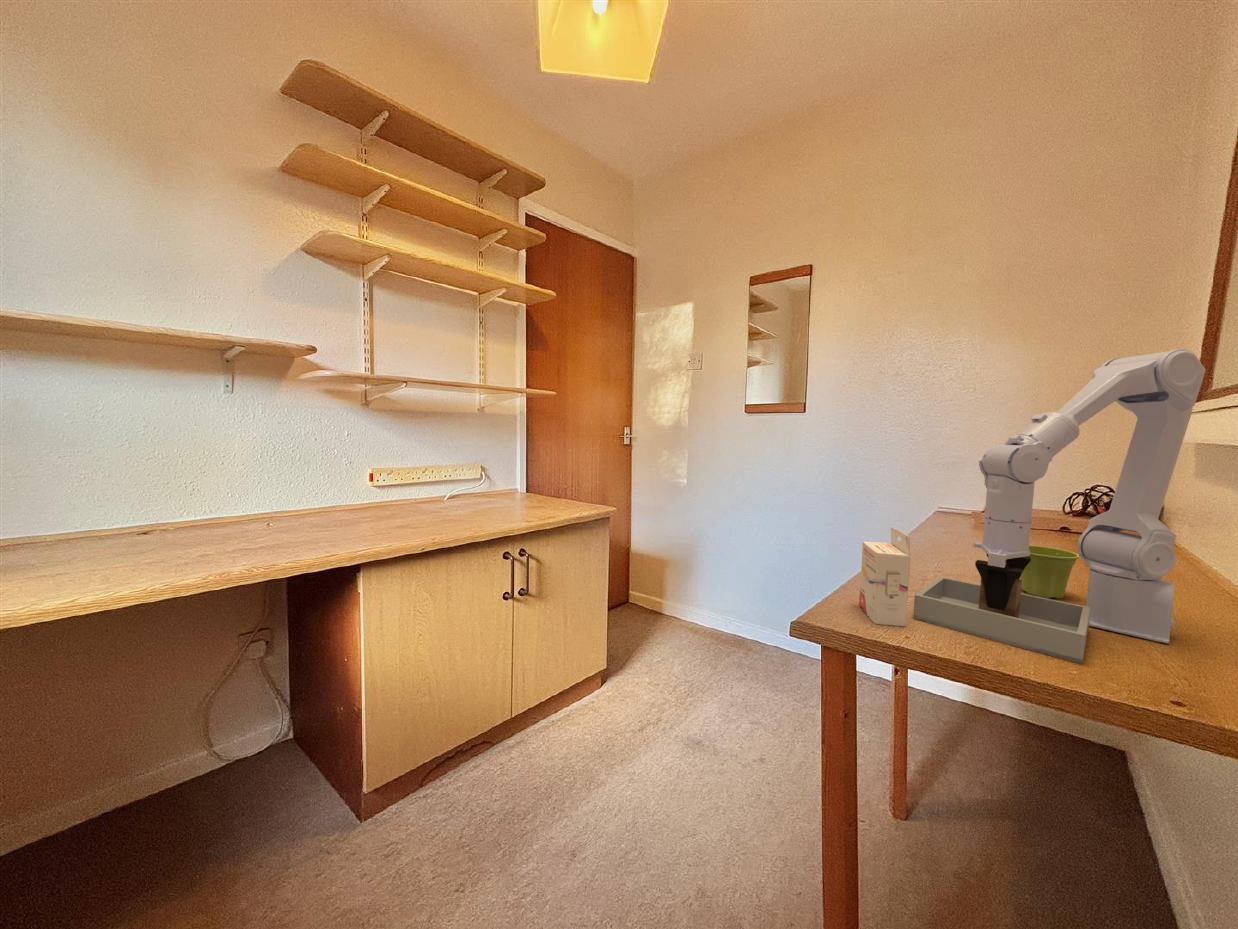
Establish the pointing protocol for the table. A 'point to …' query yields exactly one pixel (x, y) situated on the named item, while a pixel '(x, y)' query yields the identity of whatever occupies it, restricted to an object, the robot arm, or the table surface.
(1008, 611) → the walnut block
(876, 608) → the ink cartridge box
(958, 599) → the tray bin
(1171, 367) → the robot arm
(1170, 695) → the table surface
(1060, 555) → the plant pot
